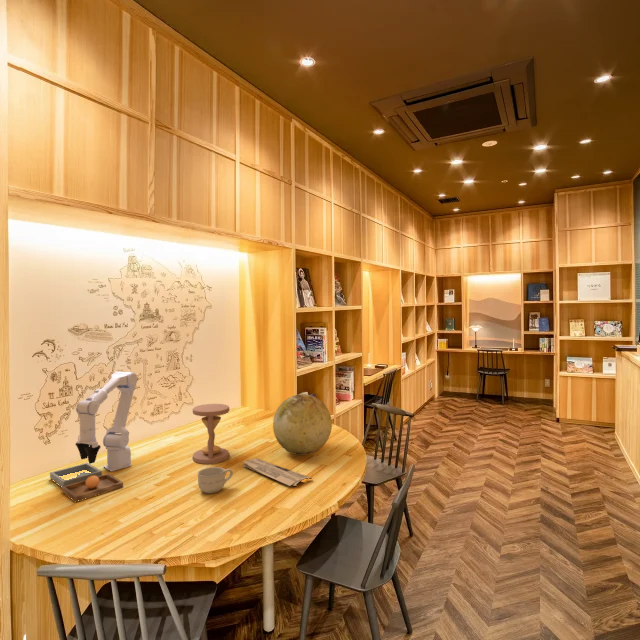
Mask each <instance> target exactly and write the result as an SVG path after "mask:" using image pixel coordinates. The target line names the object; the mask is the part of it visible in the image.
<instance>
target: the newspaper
mask: <svg viewBox="0 0 640 640" xmlns="http://www.w3.org/2000/svg"><path fill="white" fill-rule="evenodd" d="M241 462H242V467H244V468H246V469H248V468H249V470H251V471H253V472H257V473H259V474H262V475H263V476H266V477H268V478H271V479H273V480H276V481H278V482H280V483H282V484H284V485H287V486H289V487H292V486H291V485H294V486H297V484H299V483H300V481H302V480H304V479H308V478H309V479H312V480H313V478H312V477H310V476H308V475H304V474H301V473H299V472H297V471H294V470H291V469H288V468H284V467H283V466H279V465H276V464H274V463H270V462H269V461H265V460H263V459H260V458H251V459H248V460H244V461H243V460H242V461H241Z"/></svg>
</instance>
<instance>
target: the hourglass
mask: <svg viewBox="0 0 640 640" xmlns="http://www.w3.org/2000/svg"><path fill="white" fill-rule="evenodd" d="M229 412H230V406H229V405H227V404H223V403H207V404H206V403H205V404H201V405H196V406H194V407H193V408H192V415H195V416H197V417H202V418H201V422H202V423H203V424H204V426H205V428H206V429H207V434H208V438H207V445H206V446H204V447H203V448H201V449H199V450H196V451H195V452H194V453H193V454H192V460H193V462H194V463H196V462H197V464H200V463H201V465H213V464H214V463H215V464H219V462H220V463H222V461H223V462H225V461H226V459H227V460H228V459H229V458H230V451H229V449H226V448H224V447H223V448H221V446H219V445H215V438H216V433H215V429H216V427H217V426H218V424H219V423H220V422H221V419H222V417H221V416H223V415H226V414H228V413H229Z"/></svg>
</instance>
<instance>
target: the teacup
mask: <svg viewBox="0 0 640 640" xmlns="http://www.w3.org/2000/svg"><path fill="white" fill-rule="evenodd" d="M228 472H229V473H230V474H229V475H228V476H227V477H226V474H227V473H228ZM233 475H234V473H233V469H232V468H226V469H225V468H223V467H219V466H212V467H210V466H209V467H206V468H202V469H200V470H199V471H198V472H197V483H198V488H199V490H201V491H202V492H203V493H204V494H213V493H217V492H219V491H221V490H222V488H223V487H224V486H225V484H226V483H227V482H228V481H230V479H231V478H232V477H233Z"/></svg>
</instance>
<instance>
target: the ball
mask: <svg viewBox="0 0 640 640" xmlns="http://www.w3.org/2000/svg"><path fill="white" fill-rule="evenodd" d="M85 484H86V487H87V488H89V489H93V488H95V487H97V486H98V484H99V478H98V477H97V476H90V477H88V478H87V480H86V482H85Z"/></svg>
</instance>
